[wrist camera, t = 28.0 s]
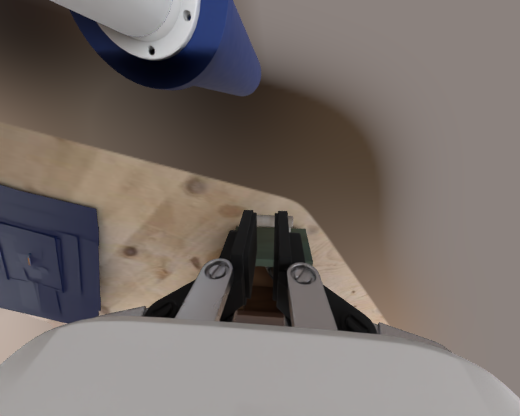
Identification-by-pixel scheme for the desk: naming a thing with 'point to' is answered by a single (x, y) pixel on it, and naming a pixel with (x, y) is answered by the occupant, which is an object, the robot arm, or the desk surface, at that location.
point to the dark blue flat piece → (48, 257)
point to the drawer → (269, 264)
